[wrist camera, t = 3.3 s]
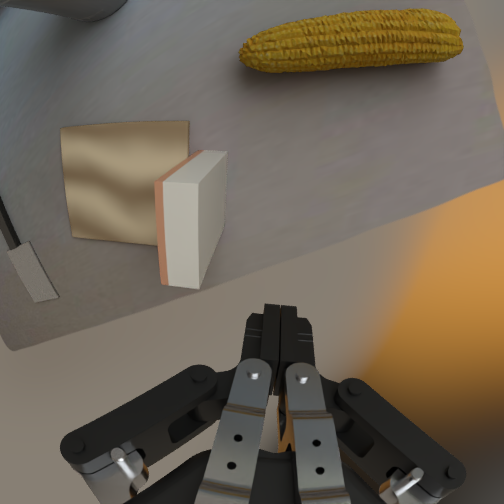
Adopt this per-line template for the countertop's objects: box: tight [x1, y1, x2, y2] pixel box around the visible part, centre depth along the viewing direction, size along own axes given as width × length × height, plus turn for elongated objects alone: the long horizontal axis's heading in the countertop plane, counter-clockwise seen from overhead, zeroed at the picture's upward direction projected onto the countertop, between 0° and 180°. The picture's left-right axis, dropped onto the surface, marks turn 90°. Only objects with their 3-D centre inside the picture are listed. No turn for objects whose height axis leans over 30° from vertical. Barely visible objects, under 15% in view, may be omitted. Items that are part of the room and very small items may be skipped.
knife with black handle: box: [0, 196, 60, 303], centre depth 36 cm, size 24×7×1 cm, turn 16°
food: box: [239, 8, 464, 73], centre depth 21 cm, size 21×6×6 cm, turn 106°
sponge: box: [154, 150, 228, 289], centre depth 26 cm, size 8×3×12 cm, turn 176°
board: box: [60, 121, 190, 246], centre depth 32 cm, size 14×16×1 cm
